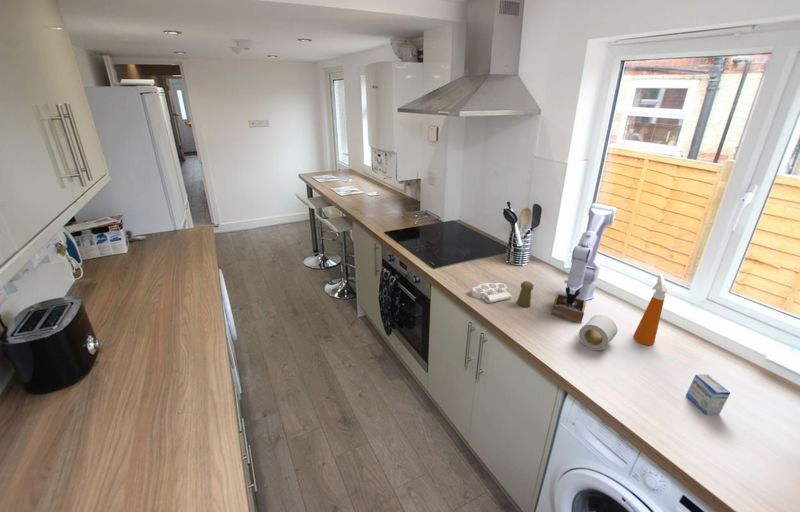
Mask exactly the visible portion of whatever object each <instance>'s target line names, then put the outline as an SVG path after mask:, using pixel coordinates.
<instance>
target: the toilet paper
mask: <svg viewBox="0 0 800 512" xmlns="http://www.w3.org/2000/svg"><path fill="white" fill-rule="evenodd" d="M617 333H618V327H617V324H616V322H615V321H614V320H613V319H612V318H611V317H609V316H607V315H604V314H596V315H594V316H592V317H591V318H590V319H588V321H586V323H585V324H584V325H583V326H582V327H580V329H579V332H578V338H579V340H580V341H581V343H582V344H583V345H584V346H585V347H587V349H590V350H593V351H602V350H604V349H605V348H607V347H608V345H609V344H610V342H612V340H613V339H614V338H615V337H616V336H617Z"/></svg>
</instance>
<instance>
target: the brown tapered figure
mask: <svg viewBox="0 0 800 512" xmlns="http://www.w3.org/2000/svg"><path fill="white" fill-rule="evenodd" d="M533 289H534V284H533V283H532V282H531V281H528V280H527V281H522V282H521V284H520V291H519V295H518V298H517V300H516V305H517V307H520V308H524V309H528V308H530V307H531V303H532V302H531V299H532V290H533Z"/></svg>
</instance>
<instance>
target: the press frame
mask: <svg viewBox="0 0 800 512" xmlns="http://www.w3.org/2000/svg"><path fill="white" fill-rule="evenodd" d="M564 299H567V294H566V295H565V294H561V293H556V296H555V298H554V301H553V305H552V308H551V313H550V316H553V317H557V318H561V319H563V320H567V321H572V322H575V323H579V324H582V321H583V318H584V315H585V309H586V304H587V300H582V299H578V298H575V300H574V301H576V302H577V306H574V307H576V308H580V311H578V310H574V309H570V308H566V307H562V306H559V305H558V303H560V304H564V303H563V300H564ZM564 305H565V304H564Z"/></svg>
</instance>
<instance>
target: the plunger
mask: <svg viewBox="0 0 800 512" xmlns="http://www.w3.org/2000/svg"><path fill="white" fill-rule="evenodd" d="M563 303H564V304H565V305H564V304H560V303H558V304H557V305H559V306H562V307H566V308H570V309H574V310H578V311H581V310H580V308H576V307H574V306H577V302H576V301H574V302H573V304H572V305H571V304H567V299H564V300H563Z"/></svg>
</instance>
